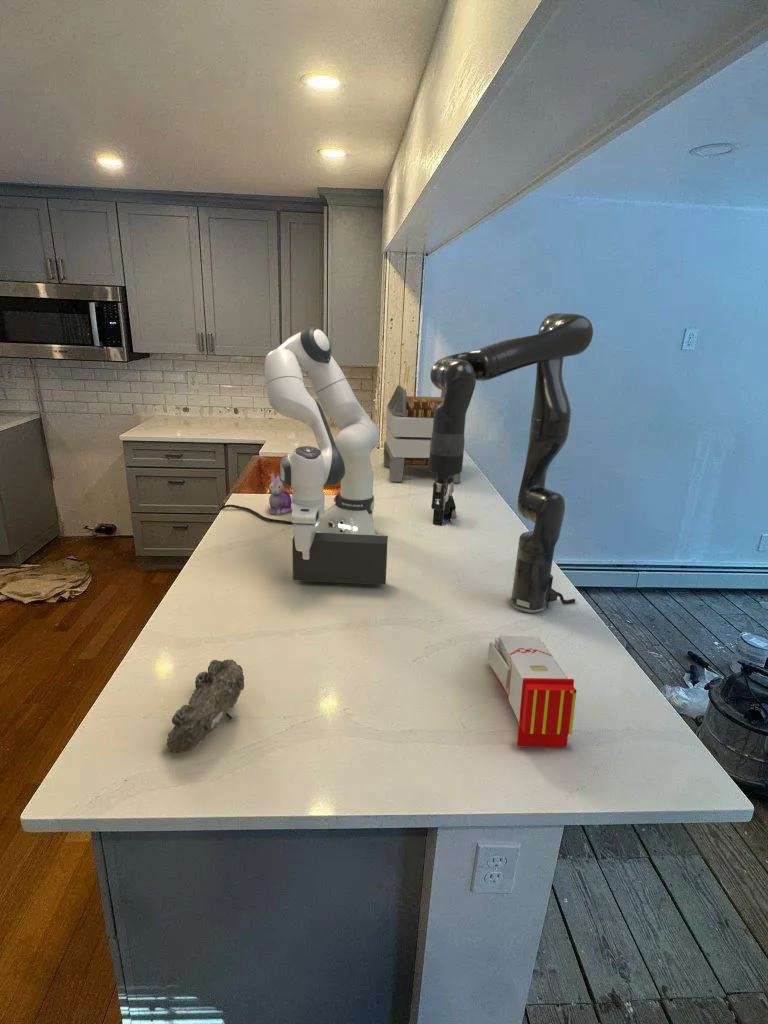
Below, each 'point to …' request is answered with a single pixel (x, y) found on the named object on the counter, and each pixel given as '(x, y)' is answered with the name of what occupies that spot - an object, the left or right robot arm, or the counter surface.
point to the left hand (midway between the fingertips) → (308, 553)
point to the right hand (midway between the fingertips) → (441, 518)
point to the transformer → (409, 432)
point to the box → (343, 559)
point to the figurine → (278, 497)
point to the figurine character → (450, 511)
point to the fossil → (206, 705)
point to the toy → (534, 690)
